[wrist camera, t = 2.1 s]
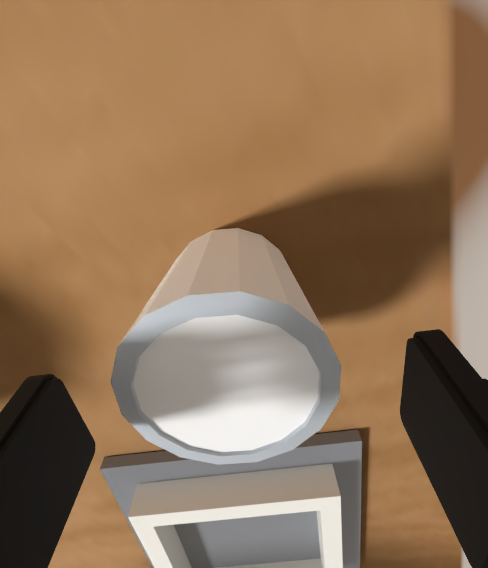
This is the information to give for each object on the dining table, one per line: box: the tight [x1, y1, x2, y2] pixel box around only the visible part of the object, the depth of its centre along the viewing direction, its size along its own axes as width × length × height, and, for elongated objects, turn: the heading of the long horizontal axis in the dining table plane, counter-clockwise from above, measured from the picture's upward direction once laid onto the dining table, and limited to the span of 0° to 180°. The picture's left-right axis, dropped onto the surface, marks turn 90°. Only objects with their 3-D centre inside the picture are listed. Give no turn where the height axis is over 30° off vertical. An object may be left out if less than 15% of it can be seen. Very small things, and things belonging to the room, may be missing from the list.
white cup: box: [111, 228, 341, 465], centre depth 13 cm, size 7×7×7 cm
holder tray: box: [100, 430, 362, 568], centre depth 24 cm, size 16×16×3 cm
